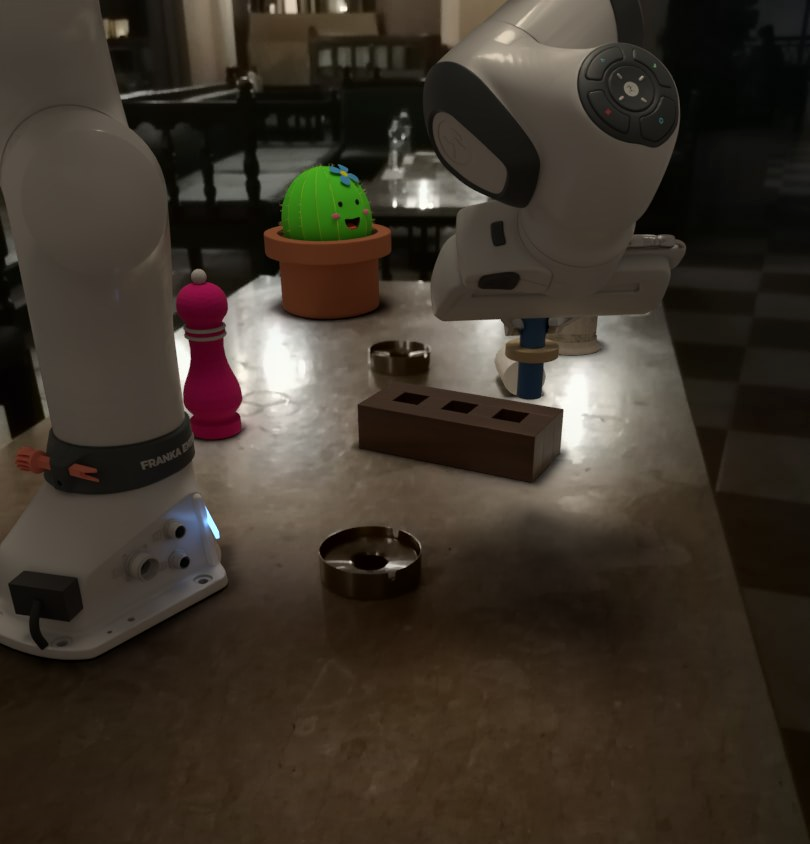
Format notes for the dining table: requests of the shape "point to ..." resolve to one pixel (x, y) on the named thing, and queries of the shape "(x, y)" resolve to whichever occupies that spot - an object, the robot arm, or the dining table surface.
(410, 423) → the stand
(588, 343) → the mug
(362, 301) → the potted cactus
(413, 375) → the dining table surface
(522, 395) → the peg
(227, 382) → the pepper mill
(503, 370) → the roll
